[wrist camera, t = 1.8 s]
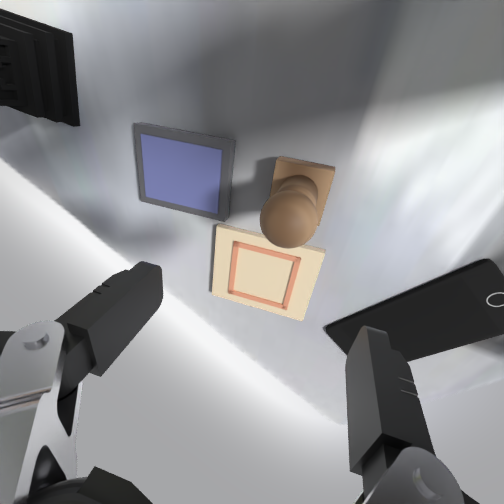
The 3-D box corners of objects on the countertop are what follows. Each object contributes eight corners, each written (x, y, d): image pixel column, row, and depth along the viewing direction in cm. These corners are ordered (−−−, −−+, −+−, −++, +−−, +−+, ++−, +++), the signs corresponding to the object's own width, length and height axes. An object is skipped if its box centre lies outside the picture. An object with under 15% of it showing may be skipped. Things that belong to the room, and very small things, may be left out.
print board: (325, 249, 28) (325, 254, 27) (303, 316, 33) (302, 322, 32) (219, 223, 30) (215, 227, 29) (214, 290, 35) (211, 295, 34)
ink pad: (235, 140, 25) (230, 142, 24) (228, 217, 29) (223, 222, 28) (141, 122, 26) (132, 123, 25) (147, 197, 31) (139, 201, 29)
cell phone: (530, 318, 26) (536, 325, 25) (364, 368, 35) (365, 374, 34) (487, 254, 24) (493, 259, 23) (324, 324, 33) (323, 330, 33)
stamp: (335, 165, 24) (335, 203, 15) (320, 216, 26) (312, 273, 18) (281, 155, 24) (251, 185, 16) (271, 205, 27) (241, 255, 18)
